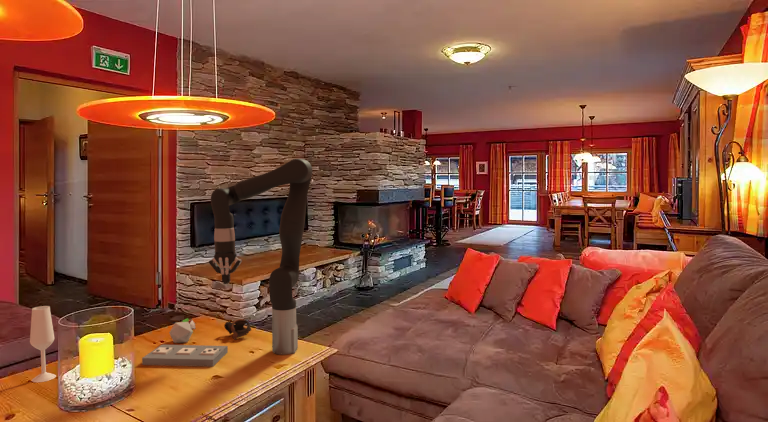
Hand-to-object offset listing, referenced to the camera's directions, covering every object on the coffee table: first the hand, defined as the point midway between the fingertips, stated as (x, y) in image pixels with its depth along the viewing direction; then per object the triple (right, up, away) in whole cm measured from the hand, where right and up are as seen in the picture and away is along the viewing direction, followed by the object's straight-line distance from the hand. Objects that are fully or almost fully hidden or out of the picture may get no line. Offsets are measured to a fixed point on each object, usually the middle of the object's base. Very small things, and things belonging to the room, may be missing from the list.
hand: (226, 283), depth 186 cm
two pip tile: (-21, -27, -7) cm, 35 cm away
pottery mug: (-1, -25, +18) cm, 31 cm away
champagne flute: (-53, -28, -26) cm, 65 cm away
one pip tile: (-12, -27, -8) cm, 30 cm away
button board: (-12, -27, -8) cm, 31 cm away
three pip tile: (-3, -27, -8) cm, 28 cm away
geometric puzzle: (-24, -25, +21) cm, 40 cm away
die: (-22, -26, +11) cm, 35 cm away
